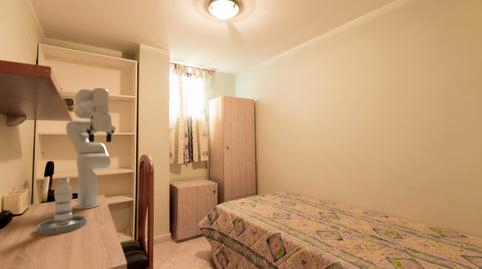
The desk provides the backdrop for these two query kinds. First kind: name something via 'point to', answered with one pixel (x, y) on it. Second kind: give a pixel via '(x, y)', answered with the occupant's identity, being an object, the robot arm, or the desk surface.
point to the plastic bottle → (63, 203)
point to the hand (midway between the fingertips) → (100, 142)
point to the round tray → (60, 226)
